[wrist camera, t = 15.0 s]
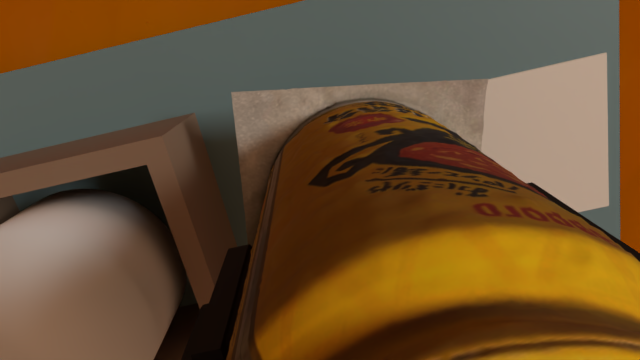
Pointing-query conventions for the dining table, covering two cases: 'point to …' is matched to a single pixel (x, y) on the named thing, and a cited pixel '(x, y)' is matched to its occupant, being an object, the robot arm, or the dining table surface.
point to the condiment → (412, 237)
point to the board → (306, 72)
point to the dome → (87, 279)
